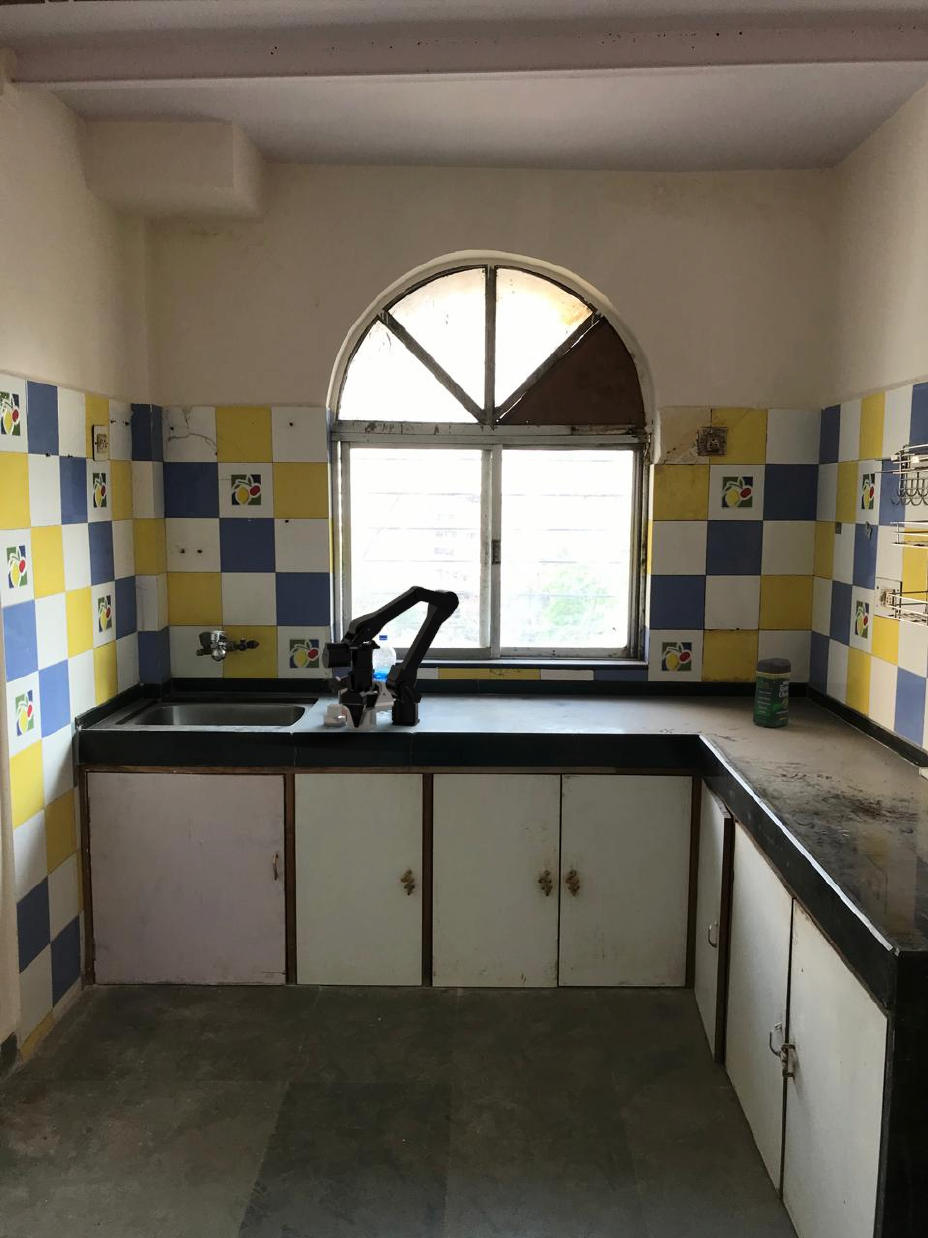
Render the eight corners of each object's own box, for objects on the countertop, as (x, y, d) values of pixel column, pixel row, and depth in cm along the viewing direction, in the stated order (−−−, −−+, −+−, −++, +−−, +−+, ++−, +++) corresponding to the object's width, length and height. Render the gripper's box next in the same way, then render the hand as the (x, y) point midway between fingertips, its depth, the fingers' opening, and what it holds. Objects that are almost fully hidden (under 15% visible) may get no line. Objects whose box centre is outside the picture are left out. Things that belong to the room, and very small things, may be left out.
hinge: (344, 715, 273) (339, 681, 275) (338, 718, 277) (333, 683, 279) (397, 710, 281) (392, 676, 283) (391, 712, 285) (386, 679, 287)
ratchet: (355, 718, 270) (355, 699, 269) (341, 728, 258) (341, 708, 257) (335, 717, 271) (335, 698, 270) (320, 727, 259) (320, 706, 259)
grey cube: (376, 725, 261) (376, 707, 261) (369, 730, 255) (369, 712, 255) (354, 724, 263) (354, 706, 262) (347, 729, 257) (347, 711, 256)
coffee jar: (773, 729, 262) (776, 662, 260) (748, 724, 268) (751, 658, 266) (793, 724, 268) (796, 658, 266) (768, 719, 274) (771, 654, 272)
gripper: (344, 659, 268) (344, 714, 270) (320, 670, 250) (321, 730, 252) (383, 661, 266) (383, 717, 267) (362, 672, 247) (362, 732, 249)
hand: (361, 723), depth 259 cm, fingers open, 9 cm apart
